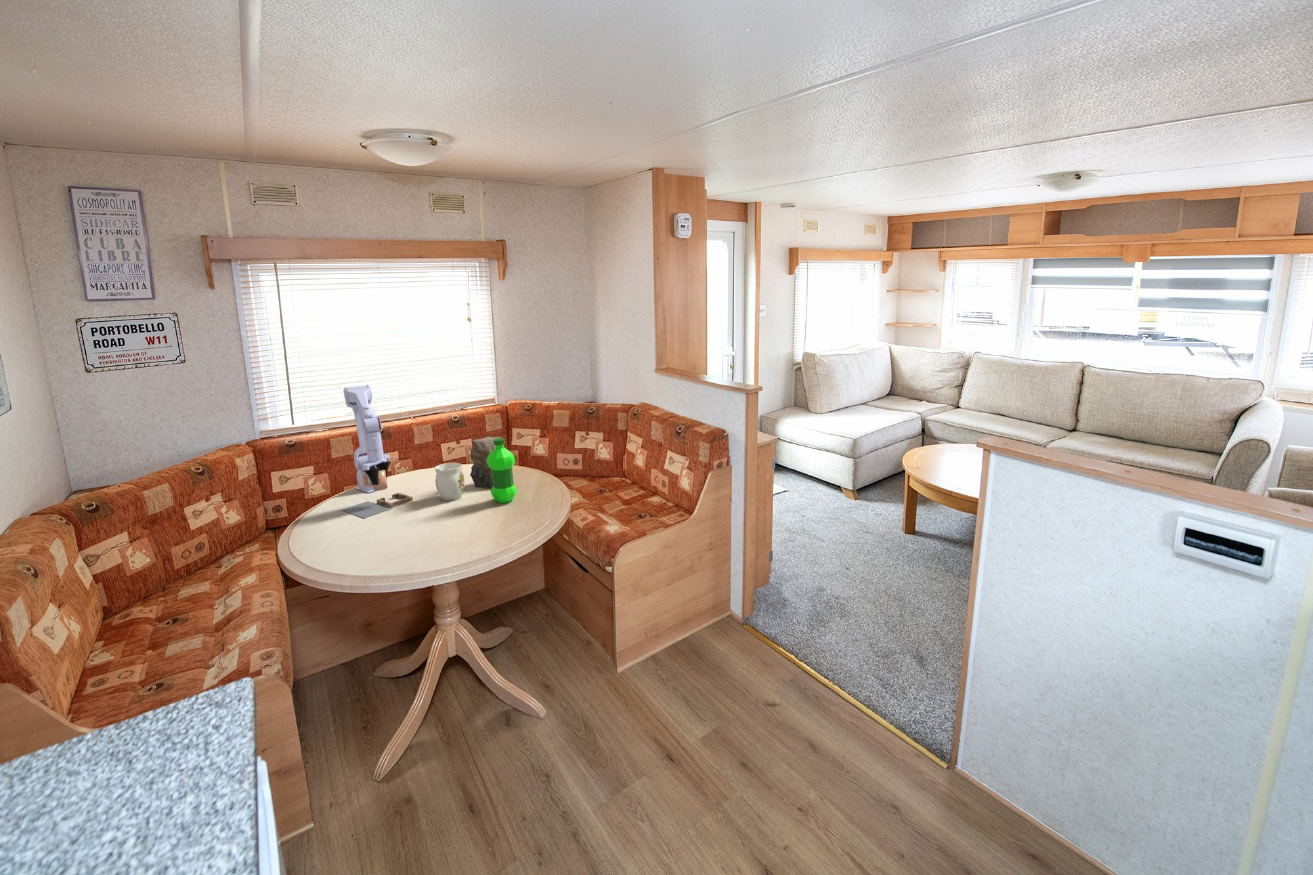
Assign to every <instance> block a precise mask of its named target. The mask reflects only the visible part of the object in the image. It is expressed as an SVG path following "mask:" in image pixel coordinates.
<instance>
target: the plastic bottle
mask: <svg viewBox="0 0 1313 875" xmlns="http://www.w3.org/2000/svg"><path fill="white" fill-rule="evenodd" d="M505 440H506V439H505V438H503V437H501V438H497V439H494V440H493V443H494V445H495V449H494V450H493V451H492V452H491V453H490V454H489V455H488V457H487V464H488V466H489V467H490V468H491V472H492V482H493V487H492V489H490V495H491V496H492V498H493V499H494V500H495V501H496V502H498V503H500V504H506V503H507V504H508V503H511V502H512V501H513V499H514V498H515V497H516V495H517V493H518V491H517V489H518V488H516V485H515V484H514V475H513V474H514V473H513V466H514V465H515V463H516V458H515V455H514V454H513V453H512V452H511V451H510V450H508V449H507V448H505V444H506V441H505Z"/></svg>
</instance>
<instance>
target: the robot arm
mask: <svg viewBox="0 0 1313 875" xmlns="http://www.w3.org/2000/svg"><path fill="white" fill-rule="evenodd" d="M343 395H344V400H345V401H344V402H345V405H346V407H347V408H351V410H352V411H353V415H354V421H355V422H354V423H355V426H356V433H357V437H358V443H359V446H358V447H357V448H356V450H354V452H353V461H354V466H355V469H356V470H357V472H356V479H357V488H356V490H358V488H359V491H361V490H362V491H361V492H365V493H373V492H376V491H375V490H374V489H373V486H363V480H362V474H363V473H366V474H367V475H368V476H367V477H368V483H372V485H378V473H379V469H383V470H385V474H386V480H387V479H388V471H389V468H390V465H391V461H390V459H391V458H390V454H384V448H383V440H382V434H381V432H382V422H381V419H380V416H378V415H376V413H375V410H374V407H372V406H370V405H371V404H372V403H371V402H372V401H373V400H372V399H373V392H372V387H371V386H370V385H369V384H366V385H359V386H348V387H347V386H346V387H344V388H343Z"/></svg>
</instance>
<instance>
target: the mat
mask: <svg viewBox="0 0 1313 875" xmlns="http://www.w3.org/2000/svg"><path fill="white" fill-rule="evenodd" d="M390 510H391V508H389V507H386V506H383V505H380V504H377V503H375V502H372V501H369V500H367V501H364V502H361V503H358V504H355V505H352V506H349V507H345V508H343V509H341V511H342V512H345V513H348V514H351V515H353V516H356V517H359V518H361V519H367V518H369V517H372V516H375V515H378V514H381V513H384V512H386V511H390Z"/></svg>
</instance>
